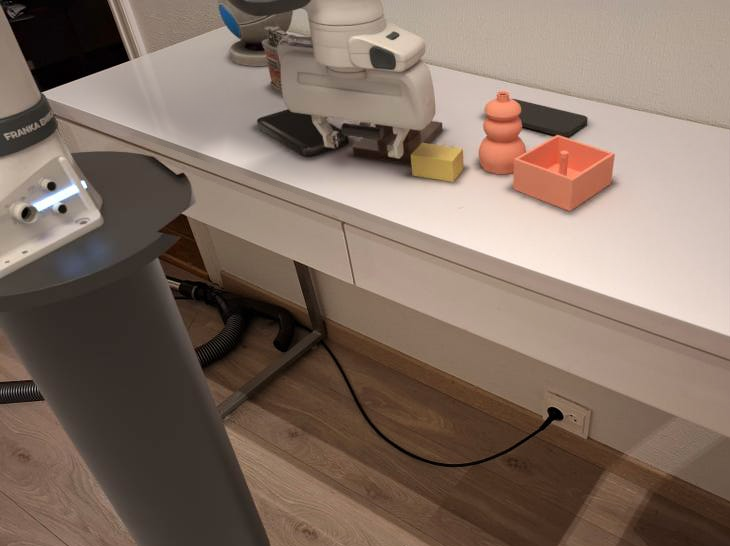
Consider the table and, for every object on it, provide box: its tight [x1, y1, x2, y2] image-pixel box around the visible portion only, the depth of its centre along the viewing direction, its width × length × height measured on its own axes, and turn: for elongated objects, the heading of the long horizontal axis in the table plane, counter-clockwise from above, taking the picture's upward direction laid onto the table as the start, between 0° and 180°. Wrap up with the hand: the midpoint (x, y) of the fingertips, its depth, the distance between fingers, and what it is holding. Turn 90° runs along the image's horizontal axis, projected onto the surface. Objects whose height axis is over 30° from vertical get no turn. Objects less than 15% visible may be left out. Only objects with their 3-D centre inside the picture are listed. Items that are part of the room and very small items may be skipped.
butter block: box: [410, 143, 465, 183], centre depth 91 cm, size 4×6×3 cm, turn 71°
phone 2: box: [485, 98, 589, 138], centre depth 104 cm, size 7×1×15 cm
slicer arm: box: [340, 122, 384, 140], centre depth 90 cm, size 14×6×2 cm
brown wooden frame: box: [352, 120, 444, 165], centre depth 95 cm, size 12×9×14 cm
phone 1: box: [256, 108, 350, 157], centre depth 101 cm, size 8×1×15 cm
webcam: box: [217, 0, 294, 67], centre depth 124 cm, size 13×13×15 cm
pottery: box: [478, 90, 616, 212], centre depth 88 cm, size 18×10×10 cm, turn 49°
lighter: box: [262, 26, 289, 96], centre depth 112 cm, size 8×3×10 cm, turn 42°
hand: (364, 151), depth 90 cm, fingers open, 8 cm apart
